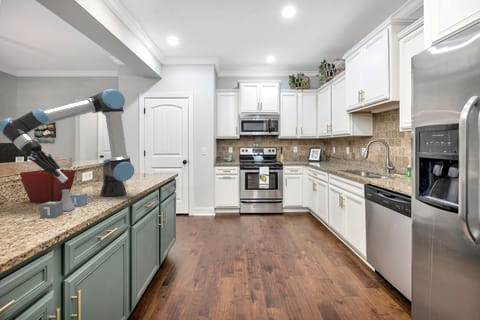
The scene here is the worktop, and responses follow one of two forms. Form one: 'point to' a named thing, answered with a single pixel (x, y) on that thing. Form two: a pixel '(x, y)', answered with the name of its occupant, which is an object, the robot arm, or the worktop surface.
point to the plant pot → (46, 185)
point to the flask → (67, 201)
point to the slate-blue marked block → (79, 199)
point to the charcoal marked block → (51, 209)
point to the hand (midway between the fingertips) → (65, 180)
